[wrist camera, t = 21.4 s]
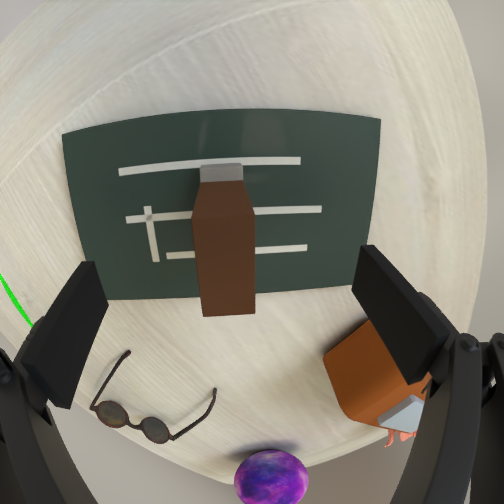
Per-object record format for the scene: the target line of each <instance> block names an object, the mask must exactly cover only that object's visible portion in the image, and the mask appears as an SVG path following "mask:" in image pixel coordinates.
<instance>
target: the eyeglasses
mask: <svg viewBox="0 0 504 504" xmlns="http://www.w3.org/2000/svg"><path fill="white" fill-rule="evenodd" d="M130 354H131V351H127V352H126V353H125V354H123V355H122V356H121V357H120V359H119V360H118V361H117V363H116V364H115V366H114V368H113V369H112V371H111V373H110V374H109V376H108V377H107V379H106V380H105V382H104V383H103V385H102V387H101V388H100V390H99V392H98V393H97V395H96V397H95V398H94V400H93V402H92V403H91V405H90V410H92V411H95V412H96V414H97V417H98V418H99V420H100V421H101V422H102V423H104V424H105V425H107V426H109V427H112V428H121V427H123V426H125V425H128V426H130V427H131V428H134V429H137V430H142V432H143V433H144V434H145V436H146V437H147V438H148V439H149V440H150V441H152V442H154V443H157V444H164V443H166V442H167V441H168V440H169V439H170V440H172V441H174V440H175V439H177V438H179V437H180V436H182V435H183V434H184V433H186V432H187V431H189V430H190V429H192V428H193V427H194V426H196V425H197V424H198V423H200V422H201V421H202V420H204V419H205V418H206V417H207V416H208V414H209V413H210V411H211V409H212V407H213V405H214V403H215V400H216V392H217V389H216V388H214V392H213V399H212V401H211V403H210V405H209V407H208V409H207V411H206V413H205V414H204V415H203V416H202V417H200V418H199V419H198V420H196V421H195V422H193V423H192V424H190V425H189V426H187V427H186V428H184V429H183V430H181V431H180V432H178V433H177V434H175V435H174V436H172V435H171V434H170V432H169V430H168V428H167V426H166V425H165V424H164V423H163V422H162V421H161V420H159V419H157V418H155V417H147V418H144V419H143V420H142V421H141V423H140V424H139V425H133V424H131V422H130V421H129V416H128V414H127V412H126V411H125V409H124V408H123V407H122V406H120V405H119V404H117V403H115V402H112V401H102V402H100V403H99V404H98V405H97V406H94V405H95V403H96V401H97V400H98V398H99V396H100V395H101V393H102V391H103V390H104V388H105V386H106V385H107V383H108V382H109V380H110V379H111V377H112V376H113V374H114V373H115V371H116V369H117V368H118V366H119V365H120V364H121V362H122V361H123V360H124V359H125V358H126V357H128V356H129V355H130Z"/></svg>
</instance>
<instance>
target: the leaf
mask: <svg viewBox="0 0 504 504" xmlns="http://www.w3.org/2000/svg"><path fill="white" fill-rule="evenodd" d="M0 280H1V282H2V284H3V286H4V288H5V290H6V291H7V293H8V295H9V297H10V298H11V300H12V302H13V303H14V305H15V306H16V308H17V309H18V311H19V312H20V313H21V315H22V316H23V317H24V319H25V320H26V321H27V322H28V324H29V325H30V326H31V327H33V324H32V323H31V321H30V320H29V318H28V317H27V315H26V313H25V312H24V310H23V309H22V307H21V306H20V304H19V302H18V301H17V299H16V298H15V296H14V295H13V293H12V292H11V290H10V288H9V287H8V285H7V284H6V282H5V281H4V279H3V277H2V276H1V274H0Z"/></svg>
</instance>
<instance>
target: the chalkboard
mask: <svg viewBox="0 0 504 504" xmlns="http://www.w3.org/2000/svg"><path fill="white" fill-rule="evenodd" d="M380 128H381V119H377V118H371V117H364V116H357V115H350V114H341V113H332V112H321V111H308V110H290V109H222V110H204V111H191V112H180V113H171V114H162V115H155V116H148V117H141V118H135V119H129V120H123V121H118V122H112V123H107V124H103V125H98V126H94V127H89V128H85V129H81V130H77V131H73V132H69V133H66V134H62V143H63V152H64V160H65V167H66V174H67V180H68V186H69V191H70V197H71V202H72V207H73V211H74V216H75V220H76V225H77V229H78V233H79V237H80V240H81V244H82V248H83V251H84V255H85V258H86V261H94V262H95V265H96V269H97V272H98V275H99V278H100V281H101V284H102V287H103V290H104V293H105V296H106V299H107V300H133V299H166V298H190V297H200V292H199V285H198V277H197V269H196V261H195V252H194V243H193V234H192V224H191V216H192V212H193V208H194V205H195V201H196V197H197V193H198V190H199V186H200V167H201V165H207V164H225V163H241V164H242V166H243V182H244V184H245V187H246V190H247V193H248V196H249V199H250V201H251V204H252V207H253V210H254V213H255V294H256V293H269V292H281V291H293V290H304V289H314V288H324V287H334V286H343V285H352V284H353V281H354V276H355V271H356V266H357V261H358V256H359V251H360V246H361V245H367V239H368V234H369V228H370V221H371V215H372V208H373V201H374V194H375V185H376V177H377V167H378V156H379V144H380Z"/></svg>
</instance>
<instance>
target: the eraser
mask: <svg viewBox="0 0 504 504" xmlns="http://www.w3.org/2000/svg"><path fill="white" fill-rule="evenodd" d="M191 224H192V234H193V243H194V252H195V261H196V269H197V277H198V285H199V292H200V299H201V306H202V313H203V317H210V316H228V315H243V314H255V213H254V210H253V207H252V204H251V201H250V199H249V196H248V193H247V190H246V187H245V184H244V182H243V166H242V164H241V163H225V164H207V165H201V167H200V186H199V190H198V193H197V197H196V201H195V205H194V208H193V212H192V216H191Z"/></svg>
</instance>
